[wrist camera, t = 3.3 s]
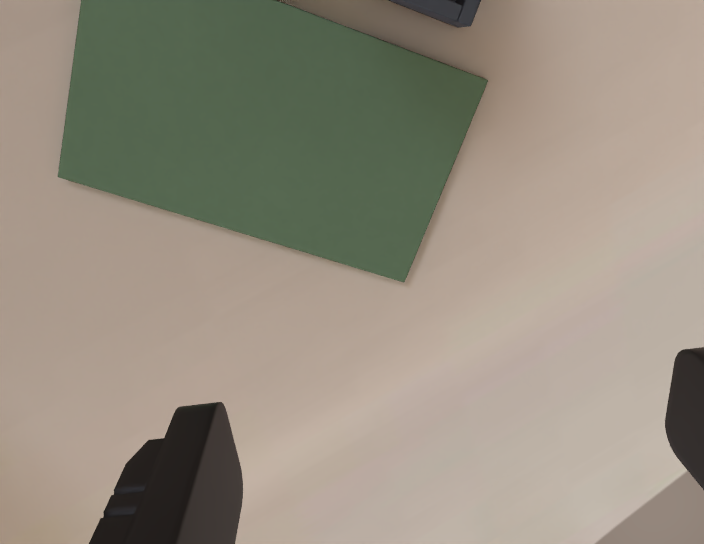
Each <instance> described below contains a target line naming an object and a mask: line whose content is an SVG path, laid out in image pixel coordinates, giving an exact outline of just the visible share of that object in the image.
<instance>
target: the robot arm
mask: <svg viewBox="0 0 704 544" xmlns="http://www.w3.org/2000/svg"><path fill="white" fill-rule="evenodd" d="M665 428H666V434H667V438H668V441H669V443H670V446H671V448H672V450H673V452H674V453H675V455H676V456H677V458H678V459H679V460H680V461H681V463H682V464H683V465H684V466H685V468H686V469H687V470H688V471H689V472H690V473H691V475H692V476H693V477H694V478H695V479H696V481H697V482H698V483H699V485H700V486H701V487H702V488H703V490H704V347H702V348H693V349H685V350H682V351H680V352H679V353H678V354H677V356H676V358H675V362H674V368H673V375H672V381H671V387H670V393H669V400H668V406H667V412H666V419H665ZM242 499H243V481H242V472H241V466H240V462H239V458H238V455H237V451H236V447H235V443H234V439H233V435H232V431H231V427H230V423H229V419H228V415H227V412H226V409H225V406H224V405H223V403H222V402H217V403H208V404H199V405H191V406H182V407H178V408H177V409H176V411H175V413H174V415H173V418H172V420H171V423H170V425H169V428H168V430H167V433H166V435H165V438H163V439H154V440H148V441H147V442H146V443H145V444H144V445H143V447H142V448H141V449H140V450H139V451H138V452H137V453H136V454H135V455H134V456H133V457H132V458H131V459H130V460H129V461H128V462H127V463H126V465H125V467H124V469H123V472H122V474H121V476H120V478H119V480H118V482H117V485H116V487H115V489H114V495H111V497H110V500H109V502H108V504H107V506H106V508H105V510H104V512H103V513H104V517H103V518H101V519H100V521H99V523H98V525H97V528H96V530H95V532H94V534H93V536H92V538H91V540H90V543H89V544H235V540H236V534H237V529H238V523H239V518H240V512H241V507H242Z"/></svg>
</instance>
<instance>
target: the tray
mask: <svg viewBox="0 0 704 544" xmlns="http://www.w3.org/2000/svg"><path fill="white" fill-rule="evenodd" d="M389 1H391V2H394V3H396V4H399V5H402V6H404V7H407V8H409V9H412V10H414V11H417V12H420V13H422V14H425V15H427V16H430V17H432V18H435V19H438V20H440V21H443V22H445V23H448V24H450V25H453V26H455V27H468V26H471V25H472V22H473V20H474V17H475V14H476V12H477V9H478V7H479V4H480V2H481V0H389Z"/></svg>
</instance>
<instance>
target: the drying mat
mask: <svg viewBox="0 0 704 544" xmlns="http://www.w3.org/2000/svg"><path fill="white" fill-rule="evenodd" d="M487 82H488V80H486V79H484V78H481V77H479V76H476V75H473V74H471V73H468V72H465V71H463V70H460V69H457V68H455V67H452V66H449V65H447V64H444V63H441V62H439V61H436V60H433V59H431V58H428V57H425V56H423V55H420V54H417V53H415V52H412V51H409V50H407V49H404V48H401V47H399V46H396V45H394V44H391V43H388V42H386V41H383V40H380V39H378V38H375V37H372V36H370V35H367V34H364V33H362V32H359V31H356V30H354V29H351V28H348V27H346V26H343V25H340V24H338V23H335V22H332V21H330V20H327V19H324V18H322V17H319V16H316V15H314V14H311V13H309V12H306V11H303V10H301V9H298V8H295V7H293V6H290V5H287V4H285V3H282V2H279V1H277V0H81V6H80V14H79V21H78V29H77V37H76V44H75V52H74V59H73V67H72V74H71V82H70V89H69V97H68V104H67V112H66V119H65V127H64V134H63V142H62V149H61V157H60V164H59V172H58V177H60V178H63V179H66V180H69V181H73V182H76V183H79V184H83V185H86V186H89V187H92V188H96V189H99V190H102V191H105V192H109V193H112V194H115V195H119V196H122V197H125V198H128V199H132V200H135V201H138V202H142V203H145V204H148V205H151V206H155V207H158V208H161V209H165V210H168V211H171V212H174V213H178V214H181V215H184V216H188V217H191V218H194V219H197V220H201V221H204V222H207V223H211V224H214V225H217V226H220V227H224V228H227V229H230V230H234V231H237V232H240V233H243V234H247V235H250V236H253V237H257V238H260V239H263V240H266V241H270V242H273V243H276V244H280V245H283V246H286V247H289V248H293V249H296V250H299V251H302V252H306V253H309V254H312V255H316V256H319V257H322V258H325V259H329V260H332V261H335V262H339V263H342V264H345V265H348V266H352V267H355V268H358V269H362V270H365V271H368V272H371V273H375V274H378V275H381V276H385V277H388V278H391V279H394V280H398V281H401V282H405V279H406V277H407V275H408V272H409V270H410V267H411V265H412V263H413V260H414V258H415V255H416V253H417V251H418V248H419V246H420V243H421V241H422V239H423V236H424V234H425V231H426V229H427V227H428V224H429V222H430V219H431V217H432V214H433V212H434V210H435V207H436V205H437V202H438V200H439V198H440V195H441V193H442V190H443V188H444V186H445V183H446V181H447V178H448V176H449V174H450V171H451V169H452V166H453V164H454V162H455V159H456V157H457V154H458V152H459V150H460V147H461V145H462V142H463V140H464V138H465V135H466V133H467V130H468V128H469V125H470V123H471V121H472V118H473V116H474V113H475V111H476V109H477V106H478V104H479V101H480V99H481V97H482V94H483V92H484V89H485V87H486V85H487Z"/></svg>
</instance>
